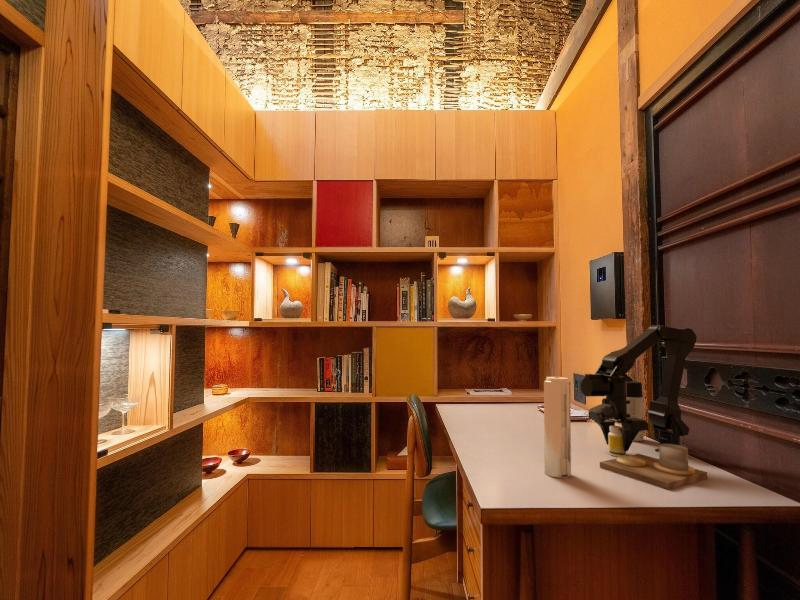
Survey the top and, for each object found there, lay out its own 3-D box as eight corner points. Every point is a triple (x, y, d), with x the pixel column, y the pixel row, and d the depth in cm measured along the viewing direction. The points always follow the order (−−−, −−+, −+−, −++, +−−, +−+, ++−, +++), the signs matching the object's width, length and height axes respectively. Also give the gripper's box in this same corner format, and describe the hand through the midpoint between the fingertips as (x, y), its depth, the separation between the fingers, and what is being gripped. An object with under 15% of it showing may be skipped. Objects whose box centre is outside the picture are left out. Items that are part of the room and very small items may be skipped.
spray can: (647, 442, 144) (646, 383, 145) (628, 441, 144) (626, 382, 145) (637, 437, 150) (636, 380, 152) (618, 436, 151) (617, 380, 152)
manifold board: (638, 458, 124) (638, 433, 125) (707, 478, 109) (706, 449, 109) (599, 467, 115) (599, 440, 116) (668, 489, 100) (667, 458, 100)
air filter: (570, 471, 111) (569, 376, 113) (571, 479, 105) (570, 379, 107) (544, 468, 114) (543, 375, 115) (544, 476, 107) (543, 377, 109)
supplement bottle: (628, 457, 125) (627, 429, 126) (611, 456, 126) (610, 428, 127) (623, 453, 130) (622, 425, 130) (606, 452, 131) (606, 424, 131)
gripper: (573, 392, 136) (574, 441, 135) (616, 401, 118) (617, 458, 117) (603, 391, 139) (603, 439, 138) (649, 400, 121) (650, 456, 120)
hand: (617, 447), depth 128 cm, fingers open, 7 cm apart
